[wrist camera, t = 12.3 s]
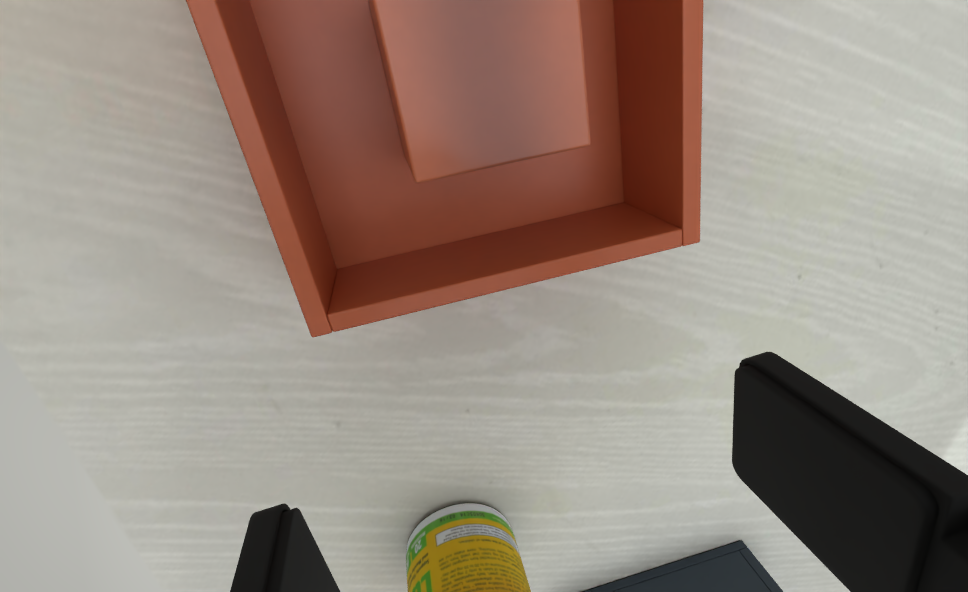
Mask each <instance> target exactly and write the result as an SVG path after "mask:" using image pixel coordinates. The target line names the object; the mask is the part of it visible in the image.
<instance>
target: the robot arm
mask: <svg viewBox="0 0 968 592" xmlns="http://www.w3.org/2000/svg"><path fill="white" fill-rule="evenodd" d="M732 464H733V467H734V469H735V472H736V473H737V475H738V476H739V477H740V479H741V480H742V481H743V482H744V483H745V484H746V485H747V486H748V487H749V488H750V489H751V490H752V491H753V492H754V493H755V494H756V495H757V496H758V497H759V498H760V499H761V500H762V501H763V502H764V503H765V504H766V505H767V506H768V507H769V508H770V510H771V511H772V512H773V513H774V514H775V515H776V516H777V517H778V518H779V519H780V520H781V521H782V522H783V523H784V524H785V525H786V526H787V527H788V528H789V529H790V530H791V531H792V532H793V533H794V534H795V535H796V536H797V537H798V538H799V539H800V540H801V541H802V542H803V543H804V544H805V545H806V546H807V547H808V548H809V549H810V550H811V552H812V553H813V554H814V555H815V556H816V557H817V558H818V559H819V560H820V561H821V562H822V563H823V564H824V565H825V566H826V567H827V568H828V569H829V570H830V571H831V572H832V573H833V574H834V575H835V576H836V577H837V578H838V579H839V580H840V581H841V582H842V583H843V584H844V585H845V586H846V587H847V588H848V589H849V590H850V591H851V592H968V475H966V474H965V473H963V472H962V471H960V470H958V469H957V468H955V467H954V466H952V465H951V464H949V463H947V462H946V461H944V460H943V459H941V458H939V457H938V456H936V455H935V454H933V453H932V452H930V451H928V450H927V449H925V448H924V447H922V446H920V445H919V444H917V443H916V442H914V441H913V440H911V439H909V438H908V437H906V436H905V435H903V434H902V433H900V432H898V431H897V430H895V429H894V428H892V427H890V426H889V425H887V424H886V423H884V422H883V421H881V420H879V419H878V418H876V417H875V416H873V415H871V414H870V413H868V412H867V411H865V410H864V409H862V408H860V407H859V406H857V405H856V404H854V403H852V402H851V401H849V400H848V399H846V398H845V397H843V396H841V395H840V394H838V393H837V392H835V391H833V390H832V389H830V388H829V387H827V386H826V385H824V384H822V383H821V382H819V381H818V380H816V379H815V378H813V377H811V376H810V375H808V374H807V373H805V372H803V371H802V370H800V369H799V368H797V367H796V366H794V365H792V364H791V363H789V362H788V361H786V360H784V359H783V358H781V357H780V356H778V355H777V354H774V353H772V352H765V353H762V354H759V355H755V356H752V357H749V358H746V359H744V360H742V361H741V363H740V366H739V368H738V369H736V371H735V382H734V415H733V448H732ZM230 592H340V590H339V588H338V586H337V584H336V582H335V580H334V578H333V576H332V574H331V572H330V570H329V568H328V566H327V564H326V562H325V560H324V558H323V556H322V554H321V552H320V550H319V548H318V546H317V544H316V542H315V540H314V538H313V536H312V534H311V532H310V530H309V528H308V526H307V524H306V522H305V520H304V517H303V515H302V513H301V512H300V510H299V509H298V508H294V509H291V510H290V508H289V507H288V505H286V504H281V505H277V506H274V507H271V508H268V509H265V510H261V511H258V512H255V513H254V514H253V515H252V516H251V518H250V521H249V525H248V528H247V532H246V536H245V539H244V543H243V547H242V550H241V554H240V558H239V561H238V565H237V568H236V572H235V576H234V579H233V583H232V587H231V590H230Z"/></svg>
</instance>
